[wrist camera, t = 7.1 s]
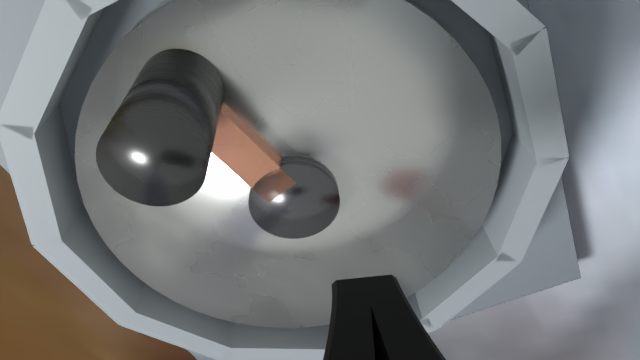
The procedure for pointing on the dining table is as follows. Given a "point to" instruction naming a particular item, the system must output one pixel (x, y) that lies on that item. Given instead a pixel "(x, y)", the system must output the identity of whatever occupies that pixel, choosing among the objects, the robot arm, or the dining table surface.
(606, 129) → the dining table surface
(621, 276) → the dining table surface
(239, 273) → the dial
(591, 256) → the dining table surface
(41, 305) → the dining table surface
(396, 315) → the robot arm
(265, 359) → the grey shallow dish
